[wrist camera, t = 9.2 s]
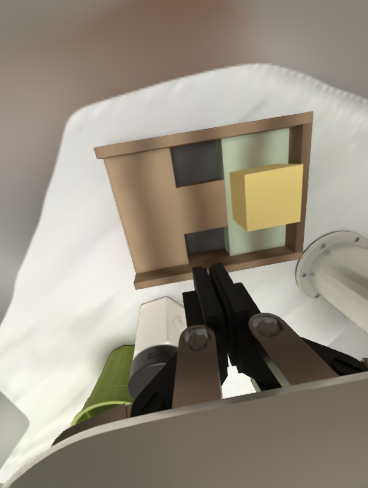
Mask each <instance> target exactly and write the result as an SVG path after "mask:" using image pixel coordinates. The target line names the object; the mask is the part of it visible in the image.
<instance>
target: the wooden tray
mask: <svg viewBox="0 0 368 488" xmlns="http://www.w3.org/2000/svg"><path fill="white" fill-rule="evenodd" d="M312 122H313V111H312V112H306V113H300V114H294V115H288V116H282V117H276V118H270V119H264V120H258V121H252V122H245V123H239V124H233V125H227V126H221V127H215V128H209V129H203V130H197V131H191V132H185V133H179V134H173V135H167V136H161V137H155V138H149V139H143V140H137V141H131V142H125V143H119V144H113V145H107V146H101V147H95V148H94V151H95V154H96V158H97V159H104V163H105V166H106V170H107V173H108V177H109V180H110V184H111V187H112V191H113V194H114V198H115V201H116V205H117V208H118V212H119V215H120V219H121V222H122V226H123V229H124V233H125V236H126V240H127V243H128V247H129V250H130V254H131V258H132V261H133V265H134V268H135V272H136V276H135V280H134V286H135V289H136V290H137V289H143V288H148V287H153V286H159V285H164V284H169V283H175V282H180V281H185V280H190V279H193V273H192V267H196V266H202V268H206V270H207V272H208V275H209V270H208V267H211V265H212V264H214V263H219V262H222V264H223V266H224V267H225V269H226V271H227V273H228V272H233V271H238V270H244V269H249V268H254V267H259V266H265V265H270V264H275V263H281V262H286V261H291V260H297V259H302V255H303V242H304V229H305V215H306V202H307V189H308V175H309V162H310V149H311V135H312ZM272 164H303V180H302V198H301V216H300V222H295V223H290V224H285V225H280V226H275V227H269V228H264V229H259V230H254V231H249V232H247V231H246V230H245V229H243V228H242V227H241V226H240V225H239V224H237V223H236V222H235V221H234V220H233V215H232V202H231V189H230V176H229V172H234V171H240V170H245V169H250V168H256V167H261V166H267V165H272Z"/></svg>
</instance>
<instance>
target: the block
mask: <svg viewBox="0 0 368 488" xmlns="http://www.w3.org/2000/svg"><path fill="white" fill-rule="evenodd" d="M229 176H230V189H231V202H232V215H233V220H234V221H235V222H236V223H237V224H239V225H240V226H241V227H242V228H243V229H245V230H246V231H247V232H249V231H254V230H259V229H264V228H269V227H275V226H280V225H285V224H290V223H295V222H300V216H301V198H302V180H303V164H272V165H267V166H261V167H256V168H250V169H245V170H240V171H234V172H229Z"/></svg>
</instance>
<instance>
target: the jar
mask: <svg viewBox="0 0 368 488" xmlns="http://www.w3.org/2000/svg"><path fill="white" fill-rule="evenodd" d="M186 328H187V324H186V317H185V309H184V308H183V307H181V306H180V305H179V304H177V303H176V302H174V301H173V300H171V299H170V298H168V297H164V298H161V299H158V300H155V301H152V302H149V303H146V304H143V305H141V308H140V314H139V320H138V326H137V333H136V339H135V346H134V353H133V360H132V364H131V368H130V375H129V382H128V391H129V394H130V396H131V397H132V398H133V399H134V400H135V399H136V398H137V396H138V395H139V394H140V392H141V391H142V390H143V389H144V388H145V387H146V386H147V385H148V384H149V382H150V381H151V380H152V379H153V378H154V377H155V376H156V375H157V374H158V372H159V371H160V370H161V369H162V368H163V367H164V366H165V365H166V364H167V362H168V361H169V360H170V359H171V358H172V357H173V356H174V355H175V354H176V352H177V351H178V344H179V338H180V335H181V333H182V332H183V331H184V330H185V329H186Z"/></svg>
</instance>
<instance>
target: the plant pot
mask: <svg viewBox="0 0 368 488" xmlns="http://www.w3.org/2000/svg"><path fill="white" fill-rule="evenodd" d="M133 353H134V346H122V347H121V348H119V349H116V350H114V351H113V352H112V353H111V355H110V356H109V358H108V360H107V363H106V365H105V367H104V369H103V371H102V373H101V375H100V377H99V379H98V381H97V383H96V385H95V387H94V389H93V391H92V393H91V395H90V397H89V398H88V399H87V401H86V403H85V405H84V407H83V409H82V411H80V412H79V413H78V414H77V415H76V416H75V418H74V419H73V421H72V424H71V426H73V425H76V424H78V423H80V422H83V421H85V420H87V419H89V418H92V417H94V416H96V415H98V414H101V413H103V412H105V411H107V410H110V409H112V408H114V407H117V406H119V405H121V404H123V403H125V404H126V406H127V405H129V404H131V403H134V399H133V398H132V397H131V396H130V394H129V391H128V382H129V375H130V368H131V364H132V360H133Z"/></svg>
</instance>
